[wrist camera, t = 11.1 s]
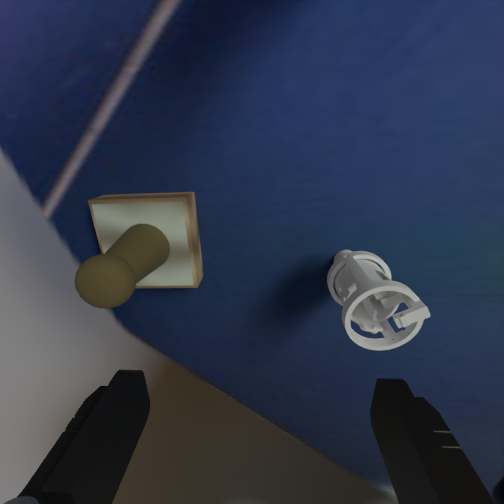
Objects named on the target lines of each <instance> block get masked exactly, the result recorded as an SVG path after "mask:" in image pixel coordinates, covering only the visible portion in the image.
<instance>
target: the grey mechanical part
mask: <svg viewBox="0 0 504 504" xmlns="http://www.w3.org/2000/svg"><path fill="white" fill-rule="evenodd" d="M372 260H373V261H372ZM374 261H375V262H377V263H379V264H380V265H381V267H382V270H383V271H382V270H381V269H380V267H379V266H378V265H377V264H376V263H375V262H374ZM333 281H334V286H335V288H336V290H337V293H338V294H337V293H336V292H335V291H334V288H333ZM327 285H328V288H329V291H330V293H331V295H332V297H333V298H334V299H335V301H336V302H338V303H339V304H341V305H342V306H344V307H343V311H342V320H343V324H344V326H345V329H346V331H347V333H348V335H349V337H350V338H351V339H352V340H353V341H354V342H355V343H356V344H358V345H359V346H361V347H364V348H366V349H370V350H389V349H393V348H396V347H399V346H401V345H403V344H405V343H406V342H408V341H409V340H411V339H412V338H413V337H414V336H415V335H416V334H417V333H418V331H419V330H420V328H421V326H422V324H423V321H424V319H426V318H428V317H430V313H429V310H428V308H427V307H426V306H425V305H424V303H423V302H422V301H421V300H420V299H419V298H418V297H417V295H416V294H415V293H414V292H413V291H412V290H411V289H410V288H408V287H407V286H406V285H404V284H402V283H399V282H396V281H391V273H390V270H389V268H388V266H387V265H386V264H385V263H384V261H383V260H382V259H381V258H379V257H378V256H377V255H375V254H373V253H370V252H366V251H356V252H352V251H350V250H342V251H340V252H338V253H337V254H336V255H335V257H334V264H333V265H332V266H331V268H330V270H329V272H328V276H327ZM403 302H404V303H405V304H406V305H407V306H408V307H409V309H407V310H405V311H402V312H400V313H397V314H395V315H393V314H394V312H395V311H396V310H397V308H398V306H399V304H400V303H403ZM391 315H392V316H393V319H394V321H395V323H396V325H397V326H398V328H401V327H406V329H405V330H404V331H402V330H401V331H399V332H398V333H395V332H394V330H393V329H392V327H391V326H390V324H389V323H388V321H387V320H386V319H388V318H389V317H390V316H391ZM350 319H351V320H353V321H354V322H355V323H357V324H359V326H360V328H361V330H364V331H369V332H371V333H372V334H375V333H377V332H378V331H381V333H382V334H383V336H384V338H381V339H371V338H366V337H363V336H361V335H359V334H357V333H356V332H355V331H354V330H353V329H352V328H351V325H350Z"/></svg>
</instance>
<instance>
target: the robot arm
mask: <svg viewBox="0 0 504 504" xmlns="http://www.w3.org/2000/svg"><path fill="white" fill-rule="evenodd" d="M149 410H150V399H149V395H148V390H147V386H146V381H145V377H144V373H143V371H141V370H119V371H117V373H116V374H115V375H114V377H113V378H112V380H111V381H110V383H109V385H108V386H100V387H99V388H98V389H97V390H96V391H95V392H93V393H92V394H91V395H90V396H89V397H88V398H87V399H86V400H85V401H84V402H83V404H82V405H81V407H80V408H79V410H78V411H77V413H76V414H75V417H74V418H72V420H71V421H70V423H69V424H68V426H67V427H66V430H65V432H63V433H62V434H61V436H60V437H59V439H58V440H57V442H56V443H55V445H54V446H53V448H52V449H51V450H50V452H49V453H48V455H47V456H46V458H45V459H44V461H43V462H42V463H41V465H40V466H39V468H38V469H37V471H36V472H35V474H34V475H33V477H32V478H31V479H30V481H29V482H28V484H27V485H26V487H25V488H24V489H23V491H22V492H21V493H20V494H19V495H18V496H17V498H14V499H12V500H10V501H7V502H6V503H4V504H112V502H113V500H114V497H115V495H116V493H117V490H118V488H119V485H120V483H121V481H122V478H123V476H124V474H125V471H126V469H127V466H128V464H129V462H130V459H131V457H132V455H133V452H134V450H135V448H136V445H137V443H138V440H139V438H140V436H141V433H142V431H143V429H144V426H145V424H146V421H147V419H148V415H149ZM370 418H371V425H372V429H373V432H374V435H375V438H376V440H377V443H378V446H379V449H380V451H381V454H382V457H383V460H384V463H385V465H386V468H387V471H388V474H389V477H390V479H391V482H392V485H393V488H394V491H395V493H396V496H397V499H398V502H399V504H495V502H494V501H493V499H492V497H491V496H490V494H489V493H488V491H487V489H486V488H485V486H484V484H483V483H482V481H481V480H480V478H479V476H478V475H477V473H476V472H475V470H474V468H473V467H472V465H471V463H470V462H469V460H468V459H467V457H466V455H465V454H464V452H463V450H461V449H460V446H459V444H458V442H457V441H456V439H455V438H454V436H453V434H451V433H450V429H449V428H448V426H447V425H446V423H445V421H444V420H443V418H442V417H441V415H440V413H439V412H438V411H437V410H436V409H435V408H434V407H433V406H432V405H431V404H430V403H428V402H427V401H426V400H425V399H424V398H423V397H414V395H413V394H412V392H411V390H410V388H409V386H408V385H407V383H406V382H405V381H404V380H403V379H392V378H378V379H377V381H376V386H375V390H374V395H373V400H372V404H371V409H370Z"/></svg>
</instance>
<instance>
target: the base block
mask: <svg viewBox="0 0 504 504" xmlns="http://www.w3.org/2000/svg"><path fill="white" fill-rule="evenodd" d="M88 203H89V207H90V211H91V215H92V218H93V222H94V226H95V230H96V234H97V238H98V242H99V246H100V249H101V253H102V254H105V252H106V251H107V250H108V249H109V248H110V247H111V246H112V245H113V244H114V243H115V242H116V241H117V240H118V239H119V238H120V237H121V236H122V234H123V233H124V232H125V231H126V230H127V229H129V228H130V227H131V226H133V225H136V224H149V225H152V226H155V227H156V228H158V229H159V230H161V231H162V232H163V234H164V235H165V236H166V237H167V240H168V242H169V245H170V253H169V257H168V259H167V260H166V262H165V263H164V264H163V265H161V266H160V267H158V268H157V269H156V270H154V271H153V272H151V273H150V274H149V275H147V276H146V277H145V278H143V279H142V280H140V281H139V282H138V283H136V287H135V288H198V286H199V284H200V282H201V280H202V278H203V276H204V273H203V265H202V256H201V248H200V239H199V230H198V222H197V213H196V204H195V196H194V192H176V193H145V194H114V195H103V196H99V197H96V198H93V199H90V200H88Z"/></svg>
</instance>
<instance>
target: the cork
mask: <svg viewBox="0 0 504 504" xmlns="http://www.w3.org/2000/svg"><path fill="white" fill-rule="evenodd" d="M169 253H170V245H169V242H168V240H167V237H166V236H165V235H164V234H163V232H162V231H161V230H159V229H158V228H156V227H155V226H152V225H149V224H136V225H133V226H131V227H130V228H129V229H127V230H126V231H125V232H124V233H123V234H122V236H121V237H120V238H119V239H118V240H117V241H116V242H115V243H114V244H113V245H112V246H111V247H110V248H109V249H108V250H107V251H106V252H105V254H100V255H96V256H93V257H91V258H89V259H87V260H86V261H85V262H84V263H82V264H81V266H80V267H79V269H78V271H77V272H76V277H75V286H76V289H77V291H78V293H79V295H80V297H81V298H82V299H83V300H85V301H86V302H87V303H89V304H91V305H92V306H95V307H98V308H113V307H117V306H119V305H121V304H123V303H124V302H126V301H127V300H128V299H129V298H130V297H131V295H132V294H133V292H134V290H135V287H136V283H138V282H139V281H140V280H142V279H143V278H145V277H146V276H147V275H149V274H150V273H151V272H153V271H154V270H156V269H157V268H158V267H160V266H161V265H163V264H164V263H165V262H166V260H167V259H168V257H169Z"/></svg>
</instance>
